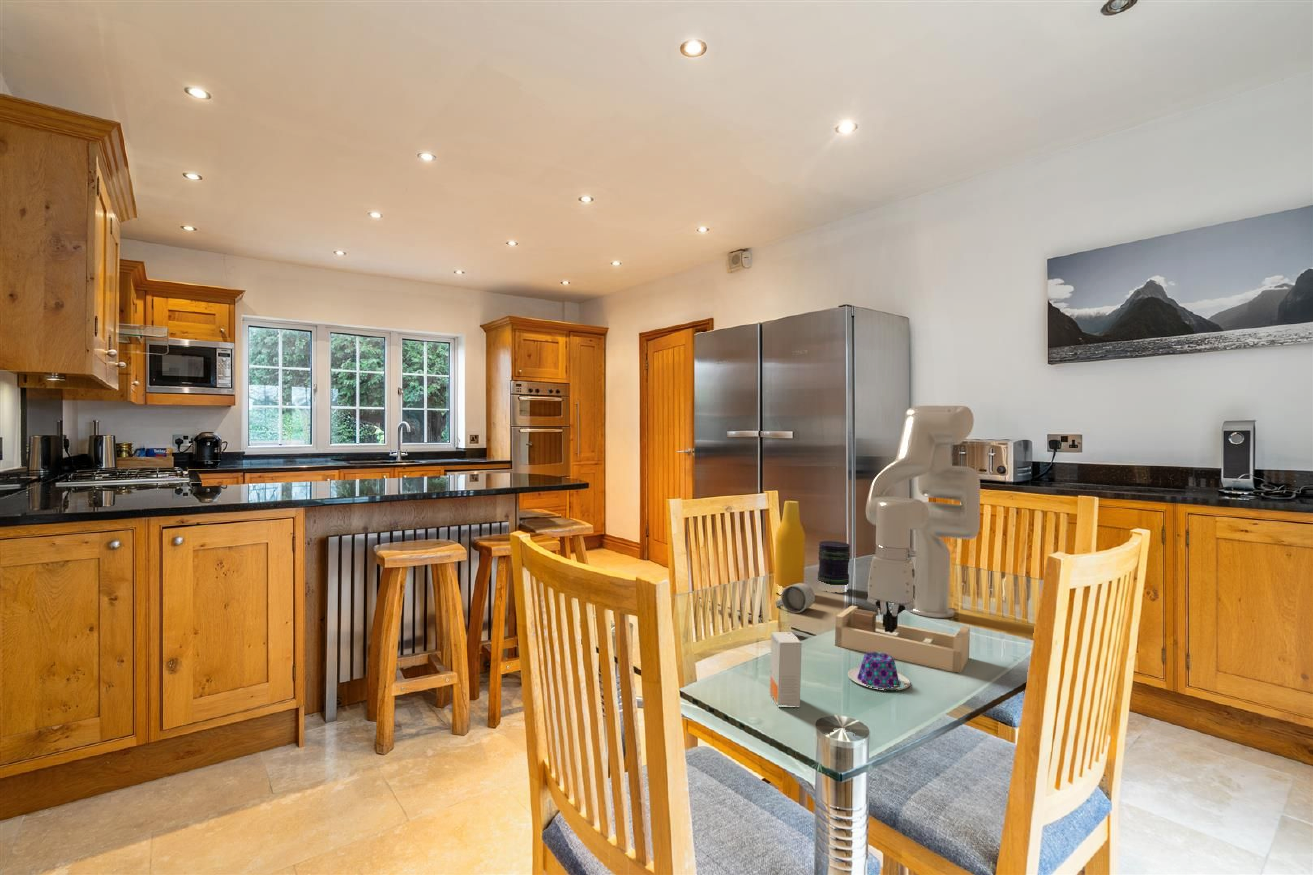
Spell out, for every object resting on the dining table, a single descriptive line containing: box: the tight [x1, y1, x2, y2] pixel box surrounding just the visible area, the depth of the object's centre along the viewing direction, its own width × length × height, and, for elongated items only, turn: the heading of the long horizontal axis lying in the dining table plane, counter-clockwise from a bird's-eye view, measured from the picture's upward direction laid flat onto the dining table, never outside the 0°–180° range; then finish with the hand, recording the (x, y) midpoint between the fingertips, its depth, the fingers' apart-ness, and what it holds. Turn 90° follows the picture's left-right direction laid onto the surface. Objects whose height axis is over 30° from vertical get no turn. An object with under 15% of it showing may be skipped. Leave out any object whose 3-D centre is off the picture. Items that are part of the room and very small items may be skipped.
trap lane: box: [834, 605, 971, 674], centre depth 144 cm, size 12×27×7 cm, turn 55°
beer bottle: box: [773, 500, 806, 588], centre depth 195 cm, size 9×9×29 cm
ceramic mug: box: [774, 583, 815, 614], centre depth 177 cm, size 11×8×8 cm
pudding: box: [847, 652, 911, 691], centre depth 126 cm, size 12×12×5 cm
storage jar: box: [817, 540, 851, 585], centre depth 202 cm, size 10×10×15 cm
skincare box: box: [769, 631, 803, 707], centre depth 115 cm, size 6×4×12 cm
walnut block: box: [852, 609, 877, 632], centre depth 148 cm, size 4×4×4 cm
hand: (889, 630), depth 146 cm, fingers closed
